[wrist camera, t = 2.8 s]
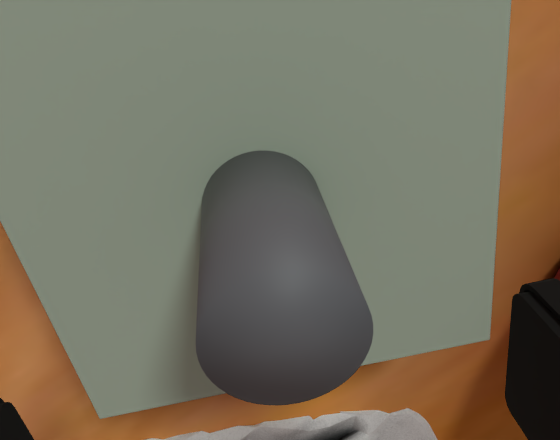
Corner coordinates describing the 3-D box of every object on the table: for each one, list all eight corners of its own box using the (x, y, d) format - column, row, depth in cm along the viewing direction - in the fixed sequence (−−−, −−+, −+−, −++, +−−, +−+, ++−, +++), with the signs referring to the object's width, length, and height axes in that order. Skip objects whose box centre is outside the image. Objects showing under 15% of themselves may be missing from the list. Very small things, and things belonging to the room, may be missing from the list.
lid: (499, -129, 13) (758, -190, 7) (477, 322, 20) (592, 487, 14) (-96, -20, 12) (-392, 20, 6) (104, 397, 20) (57, 600, 14)
